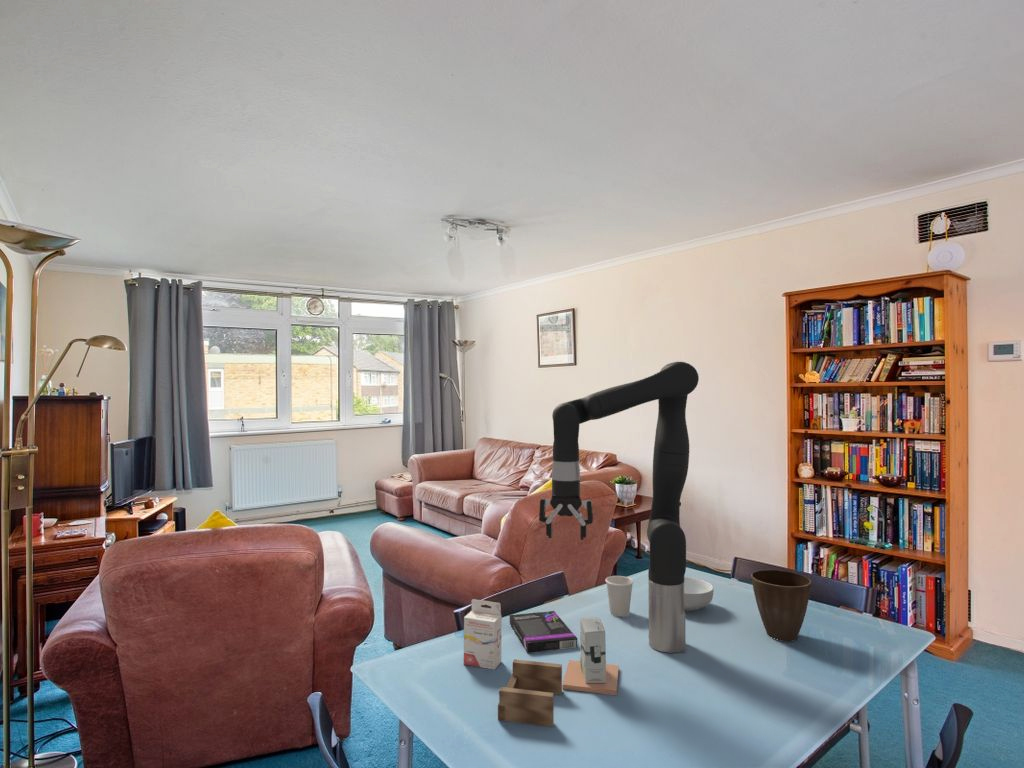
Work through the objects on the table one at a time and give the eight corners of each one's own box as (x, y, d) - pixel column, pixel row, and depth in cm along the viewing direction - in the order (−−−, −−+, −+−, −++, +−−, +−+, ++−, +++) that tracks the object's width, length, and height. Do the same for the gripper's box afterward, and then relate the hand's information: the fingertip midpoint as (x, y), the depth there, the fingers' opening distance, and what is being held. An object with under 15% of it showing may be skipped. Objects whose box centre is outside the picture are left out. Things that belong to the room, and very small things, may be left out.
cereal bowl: (721, 617, 169) (721, 593, 169) (665, 617, 169) (665, 593, 169) (703, 596, 186) (703, 575, 186) (652, 596, 186) (652, 575, 186)
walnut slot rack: (561, 691, 127) (561, 664, 127) (552, 727, 113) (552, 696, 113) (512, 685, 129) (512, 659, 130) (497, 720, 116) (497, 690, 116)
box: (577, 651, 149) (554, 620, 168) (577, 637, 149) (554, 608, 168) (526, 656, 146) (508, 624, 165) (526, 642, 146) (509, 612, 165)
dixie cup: (612, 605, 178) (612, 573, 178) (637, 611, 173) (637, 578, 173) (600, 614, 171) (600, 581, 172) (626, 620, 166) (626, 586, 167)
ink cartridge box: (462, 665, 139) (462, 604, 140) (470, 656, 144) (470, 598, 144) (495, 670, 137) (495, 609, 137) (502, 661, 141) (502, 602, 142)
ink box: (579, 665, 137) (579, 616, 137) (600, 665, 137) (599, 616, 137) (585, 684, 128) (584, 631, 128) (606, 683, 128) (606, 631, 128)
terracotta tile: (618, 669, 137) (618, 665, 137) (616, 695, 125) (616, 690, 125) (569, 664, 140) (569, 660, 140) (562, 689, 128) (562, 684, 128)
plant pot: (752, 642, 152) (751, 582, 152) (751, 621, 165) (750, 566, 166) (814, 651, 146) (814, 589, 146) (808, 629, 160) (807, 572, 160)
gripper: (593, 476, 154) (594, 536, 153) (542, 474, 157) (542, 533, 157) (591, 480, 146) (591, 543, 146) (537, 478, 150) (537, 540, 149)
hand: (566, 538), depth 151 cm, fingers open, 8 cm apart
